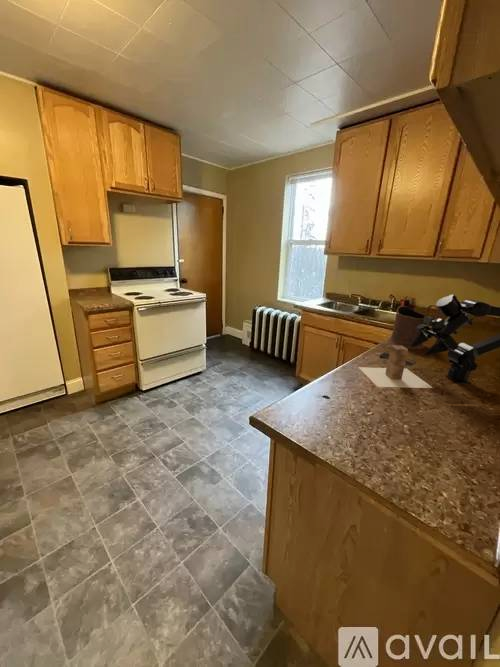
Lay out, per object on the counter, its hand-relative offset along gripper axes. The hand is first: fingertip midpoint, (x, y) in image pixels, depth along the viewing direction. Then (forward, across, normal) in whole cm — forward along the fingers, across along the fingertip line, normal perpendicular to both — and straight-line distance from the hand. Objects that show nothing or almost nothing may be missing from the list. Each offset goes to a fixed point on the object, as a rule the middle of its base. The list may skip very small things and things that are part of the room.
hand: (418, 350), depth 114 cm
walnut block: (+14, +1, +2) cm, 14 cm away
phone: (+7, -20, +12) cm, 24 cm away
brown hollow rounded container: (-8, -44, +26) cm, 52 cm away
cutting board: (+15, +1, +3) cm, 15 cm away
